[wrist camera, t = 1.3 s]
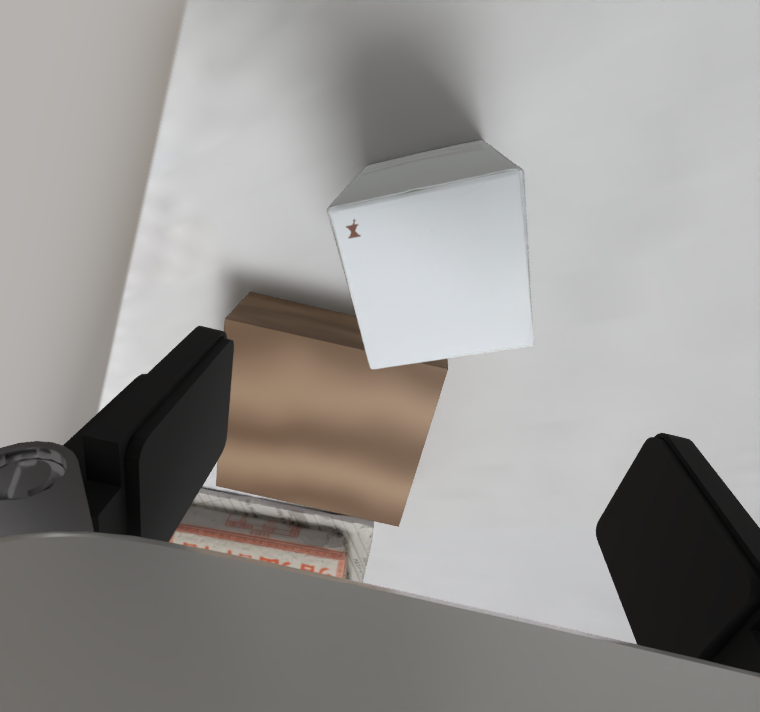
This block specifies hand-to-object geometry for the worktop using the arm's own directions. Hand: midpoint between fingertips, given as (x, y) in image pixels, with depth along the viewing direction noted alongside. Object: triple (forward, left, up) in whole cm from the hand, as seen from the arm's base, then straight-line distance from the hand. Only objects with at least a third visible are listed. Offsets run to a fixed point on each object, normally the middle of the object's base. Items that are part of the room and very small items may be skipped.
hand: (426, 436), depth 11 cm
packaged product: (+32, -7, -23) cm, 40 cm away
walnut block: (+15, -4, -23) cm, 27 cm away
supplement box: (0, 0, -22) cm, 22 cm away
